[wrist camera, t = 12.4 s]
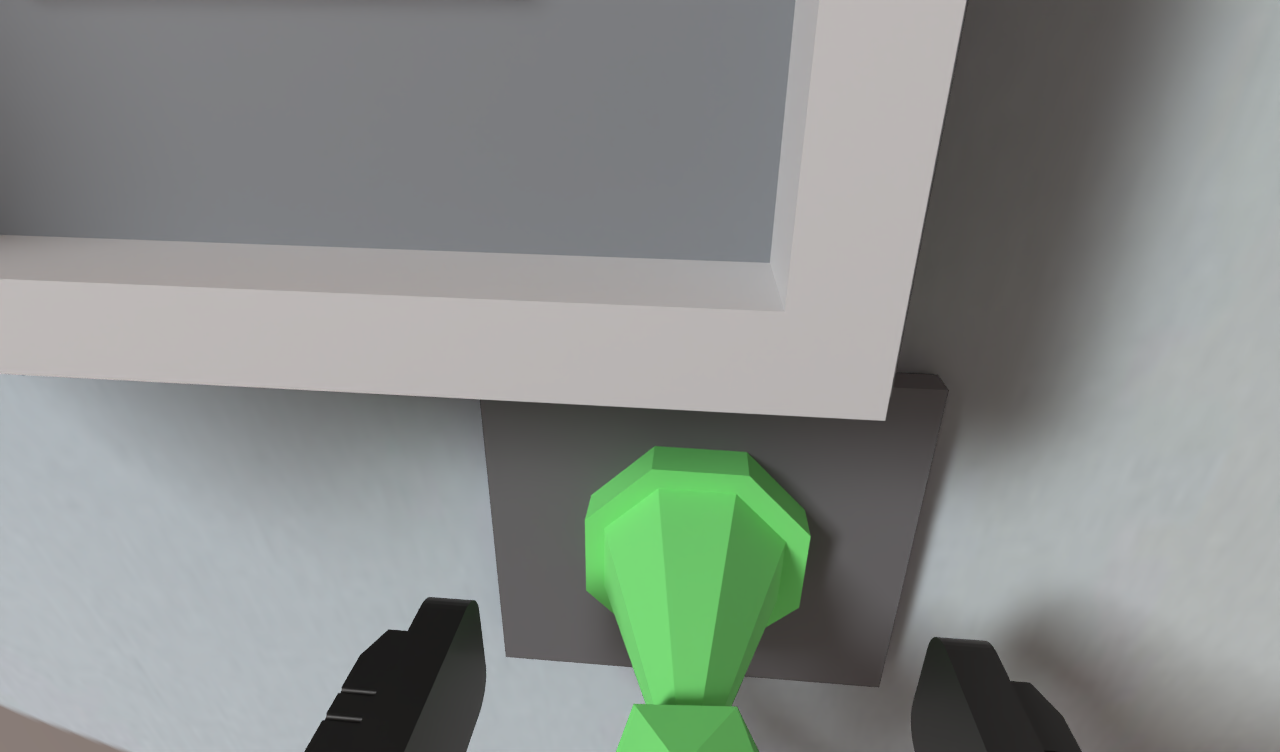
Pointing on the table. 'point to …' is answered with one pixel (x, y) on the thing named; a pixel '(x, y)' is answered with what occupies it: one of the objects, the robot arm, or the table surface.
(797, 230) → the grey square open box
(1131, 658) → the table surface
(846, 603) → the pad
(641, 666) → the game piece
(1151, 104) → the table surface
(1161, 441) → the table surface
